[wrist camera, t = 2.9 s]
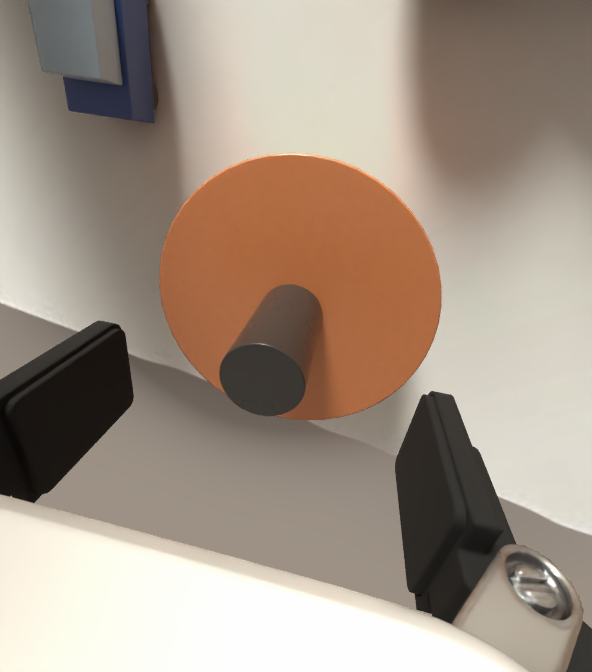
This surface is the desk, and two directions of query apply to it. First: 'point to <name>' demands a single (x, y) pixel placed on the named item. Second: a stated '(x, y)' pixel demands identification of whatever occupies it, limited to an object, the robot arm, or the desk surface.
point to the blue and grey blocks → (98, 55)
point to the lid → (300, 286)
